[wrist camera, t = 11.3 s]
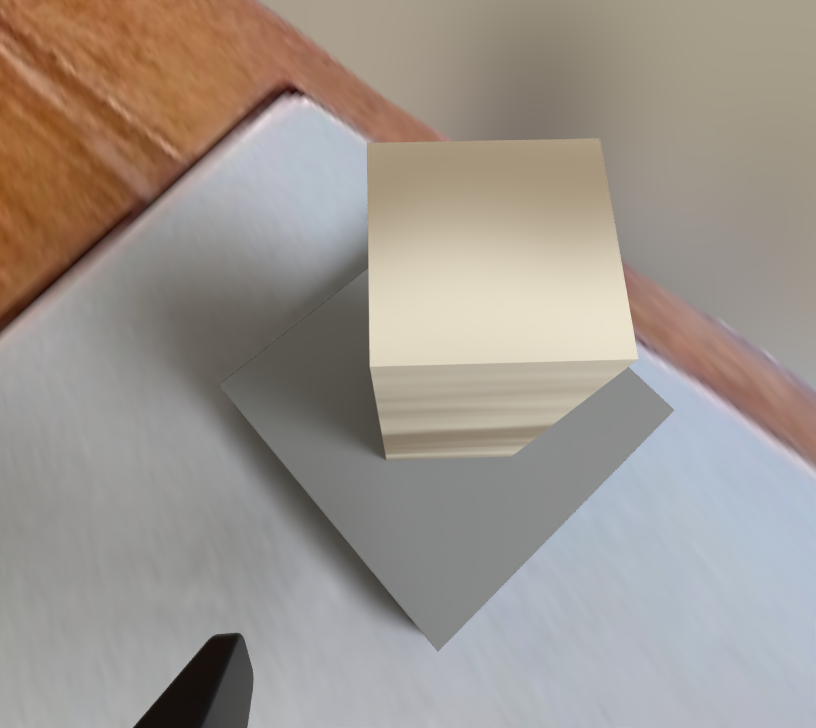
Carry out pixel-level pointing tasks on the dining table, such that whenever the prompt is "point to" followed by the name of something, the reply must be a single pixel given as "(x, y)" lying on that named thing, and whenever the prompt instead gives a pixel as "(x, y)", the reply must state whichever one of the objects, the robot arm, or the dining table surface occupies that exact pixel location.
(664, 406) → the base plate
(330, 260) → the dining table surface
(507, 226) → the cream block
